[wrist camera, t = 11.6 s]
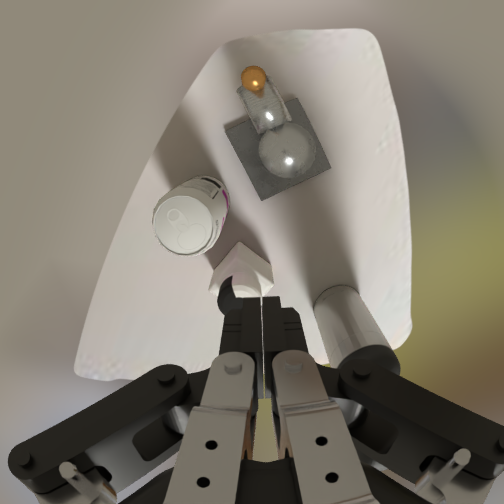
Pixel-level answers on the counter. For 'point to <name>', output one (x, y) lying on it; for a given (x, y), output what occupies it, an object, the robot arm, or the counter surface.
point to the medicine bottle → (240, 278)
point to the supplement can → (191, 216)
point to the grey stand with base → (248, 153)
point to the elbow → (275, 126)
